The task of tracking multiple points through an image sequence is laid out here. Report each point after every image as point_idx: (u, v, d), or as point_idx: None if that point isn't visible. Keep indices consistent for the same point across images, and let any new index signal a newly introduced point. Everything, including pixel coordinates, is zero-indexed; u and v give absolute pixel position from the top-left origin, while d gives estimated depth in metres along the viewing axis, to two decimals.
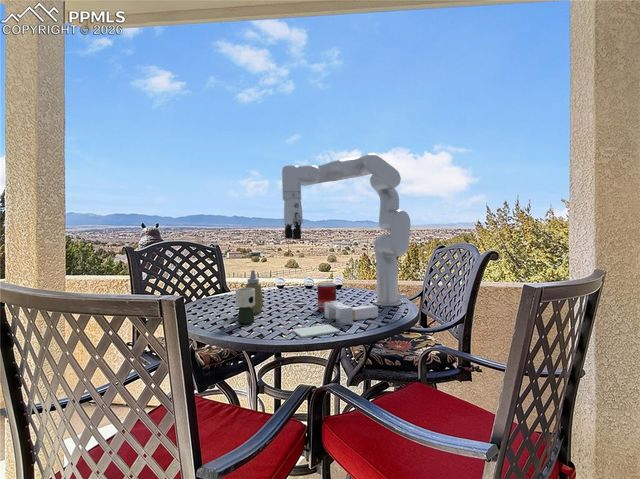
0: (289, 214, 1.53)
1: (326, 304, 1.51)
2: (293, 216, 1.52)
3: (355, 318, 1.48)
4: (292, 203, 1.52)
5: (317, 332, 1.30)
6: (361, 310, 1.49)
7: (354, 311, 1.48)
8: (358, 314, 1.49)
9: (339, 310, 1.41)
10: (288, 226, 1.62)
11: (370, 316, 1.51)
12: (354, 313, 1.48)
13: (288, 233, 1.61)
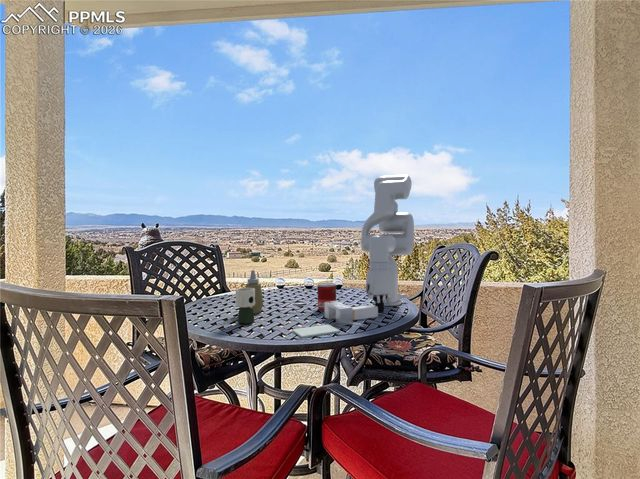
0: (388, 284, 1.53)
1: (326, 304, 1.51)
2: None
3: (355, 318, 1.48)
4: None
5: (317, 332, 1.30)
6: (361, 310, 1.49)
7: (354, 311, 1.48)
8: (358, 314, 1.49)
9: (339, 310, 1.41)
10: None
11: (370, 316, 1.51)
12: (354, 313, 1.48)
13: None
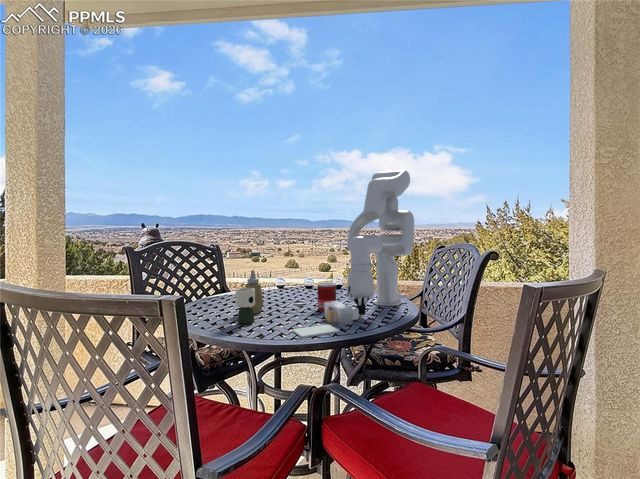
0: (370, 286, 1.50)
1: (326, 304, 1.51)
2: None
3: (334, 320, 1.45)
4: (372, 275, 1.51)
5: (317, 332, 1.30)
6: None
7: (333, 313, 1.45)
8: None
9: (339, 310, 1.41)
10: None
11: None
12: (333, 316, 1.45)
13: None
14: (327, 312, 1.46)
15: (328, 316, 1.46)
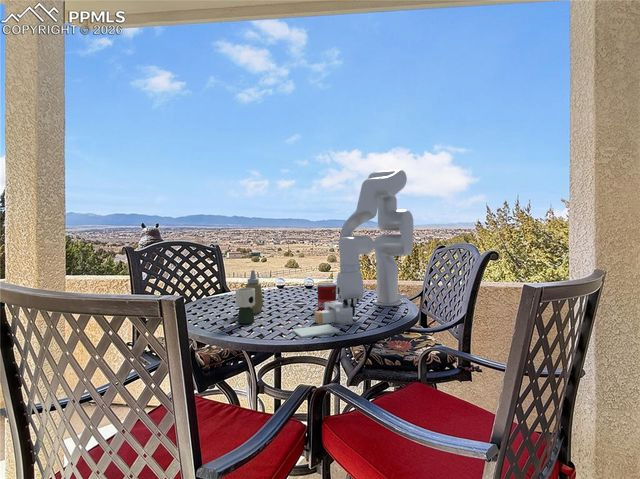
0: (359, 287, 1.48)
1: (326, 304, 1.51)
2: None
3: (323, 322, 1.43)
4: (361, 276, 1.49)
5: (317, 332, 1.30)
6: (329, 314, 1.44)
7: (322, 315, 1.43)
8: (326, 318, 1.44)
9: (339, 310, 1.41)
10: None
11: None
12: (322, 317, 1.43)
13: None
14: (316, 313, 1.45)
15: (317, 317, 1.44)
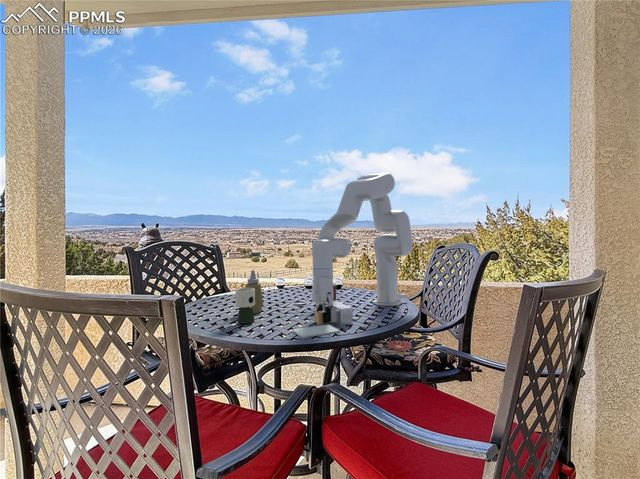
0: None
1: None
2: None
3: None
4: None
5: (317, 332, 1.30)
6: None
7: (322, 315, 1.43)
8: None
9: (339, 310, 1.41)
10: None
11: None
12: (322, 317, 1.43)
13: None
14: (316, 314, 1.45)
15: (317, 318, 1.44)
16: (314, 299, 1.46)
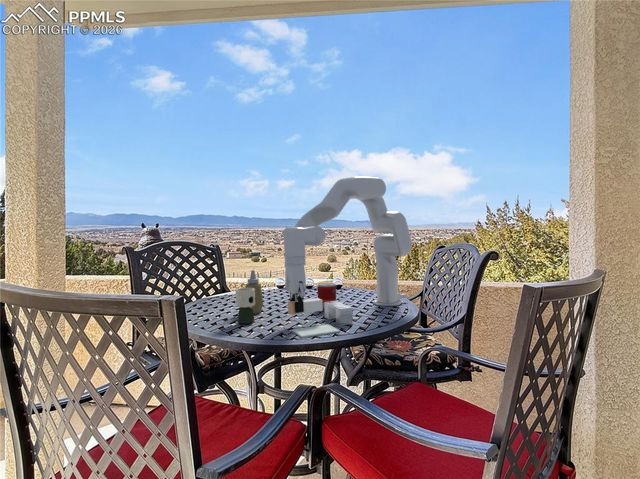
0: None
1: (326, 304, 1.51)
2: None
3: None
4: None
5: (317, 332, 1.30)
6: None
7: None
8: None
9: (339, 310, 1.41)
10: None
11: (314, 310, 1.41)
12: None
13: None
14: (289, 304, 1.40)
15: (290, 308, 1.39)
16: (287, 289, 1.41)
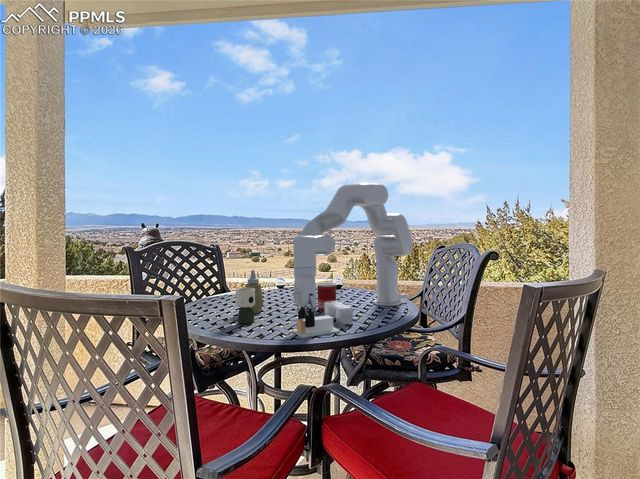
0: None
1: (326, 304, 1.51)
2: None
3: (306, 331, 1.29)
4: None
5: (317, 332, 1.30)
6: None
7: (304, 323, 1.29)
8: None
9: (339, 310, 1.41)
10: None
11: (324, 328, 1.32)
12: None
13: None
14: (298, 322, 1.31)
15: (299, 326, 1.30)
16: (296, 301, 1.32)
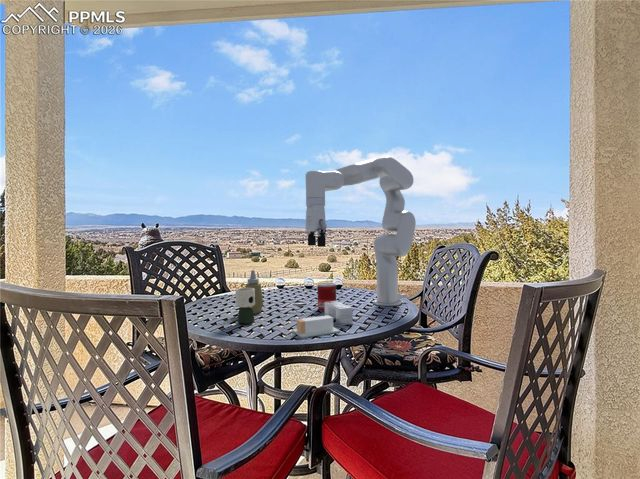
0: None
1: (326, 304, 1.51)
2: None
3: (306, 331, 1.29)
4: None
5: (317, 332, 1.30)
6: (313, 322, 1.30)
7: (304, 323, 1.29)
8: (309, 326, 1.30)
9: (339, 310, 1.41)
10: None
11: (324, 328, 1.32)
12: (305, 326, 1.29)
13: None
14: (298, 322, 1.31)
15: (299, 326, 1.30)
16: (307, 228, 1.53)
